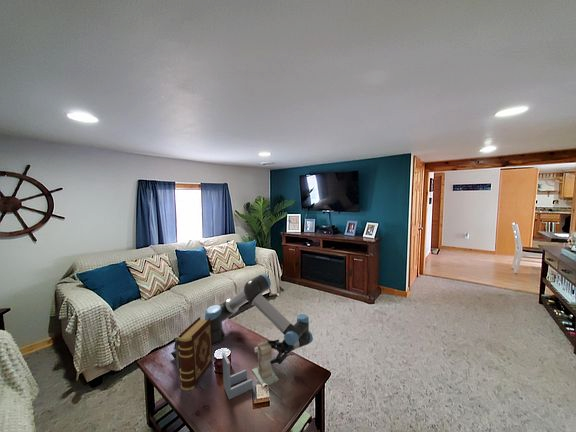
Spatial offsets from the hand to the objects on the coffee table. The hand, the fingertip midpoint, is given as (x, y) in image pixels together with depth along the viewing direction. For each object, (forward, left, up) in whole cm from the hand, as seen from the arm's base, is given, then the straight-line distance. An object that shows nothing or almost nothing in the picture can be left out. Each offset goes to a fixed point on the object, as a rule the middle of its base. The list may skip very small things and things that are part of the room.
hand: (259, 357), depth 135 cm
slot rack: (0, -13, -13) cm, 18 cm away
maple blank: (0, +3, -12) cm, 12 cm away
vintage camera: (-40, -37, -13) cm, 56 cm away
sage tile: (0, +3, -13) cm, 13 cm away
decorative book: (-22, -31, -13) cm, 40 cm away
